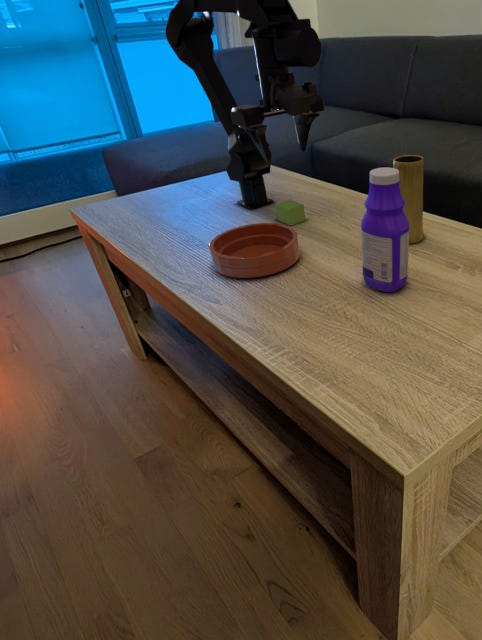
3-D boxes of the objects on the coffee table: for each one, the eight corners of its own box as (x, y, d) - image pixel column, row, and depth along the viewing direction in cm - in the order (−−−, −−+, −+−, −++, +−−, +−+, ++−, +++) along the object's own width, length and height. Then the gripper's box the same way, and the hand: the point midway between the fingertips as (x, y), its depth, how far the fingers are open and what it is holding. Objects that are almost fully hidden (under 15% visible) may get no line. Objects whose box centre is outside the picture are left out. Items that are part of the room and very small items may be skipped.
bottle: (414, 284, 71) (417, 169, 60) (392, 298, 68) (391, 180, 57) (379, 271, 75) (377, 162, 64) (356, 284, 72) (350, 172, 61)
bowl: (199, 262, 83) (193, 241, 80) (269, 236, 90) (266, 217, 88) (242, 289, 73) (237, 267, 71) (317, 258, 81) (314, 237, 78)
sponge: (277, 220, 97) (274, 204, 95) (292, 215, 99) (289, 199, 97) (290, 225, 94) (288, 209, 92) (305, 220, 96) (303, 204, 94)
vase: (423, 231, 88) (425, 153, 79) (423, 244, 83) (427, 162, 74) (391, 231, 88) (391, 154, 80) (390, 244, 84) (390, 164, 75)
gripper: (253, 74, 74) (269, 173, 83) (338, 62, 83) (344, 152, 93) (220, 72, 81) (239, 164, 90) (302, 61, 90) (311, 145, 100)
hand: (285, 156), depth 93 cm, fingers open, 9 cm apart
